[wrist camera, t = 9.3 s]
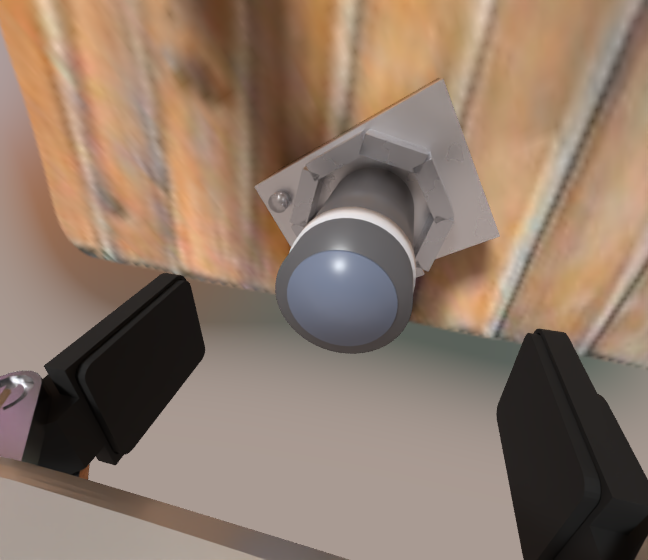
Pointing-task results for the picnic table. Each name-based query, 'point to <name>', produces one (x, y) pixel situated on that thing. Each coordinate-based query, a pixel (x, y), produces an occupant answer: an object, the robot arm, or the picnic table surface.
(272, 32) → the picnic table surface
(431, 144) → the octagonal metal flange
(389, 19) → the picnic table surface
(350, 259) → the flashlight
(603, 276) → the picnic table surface
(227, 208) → the picnic table surface
